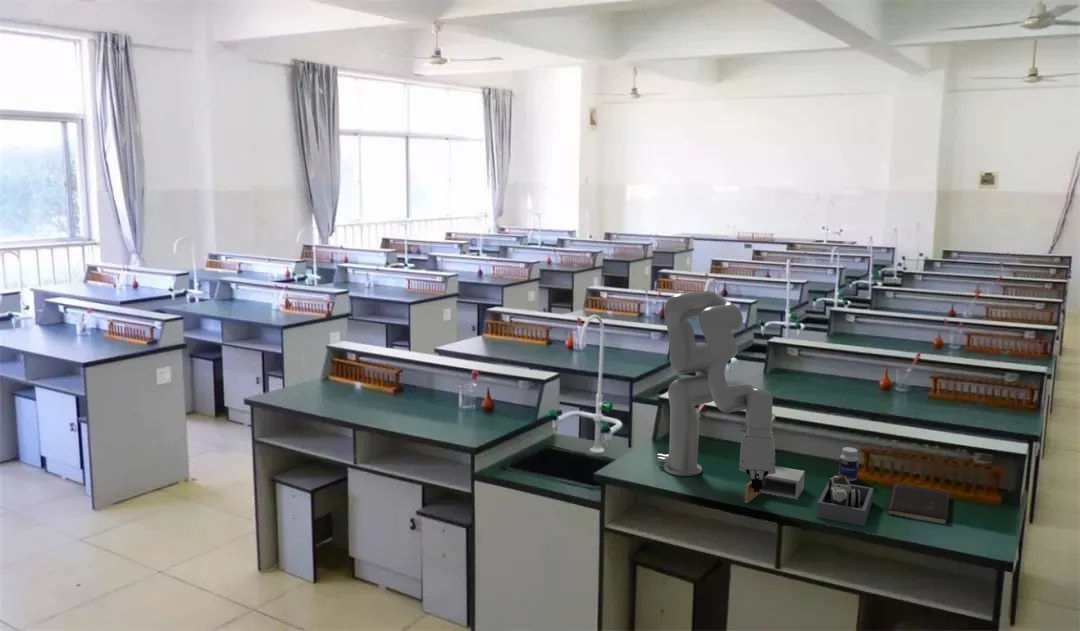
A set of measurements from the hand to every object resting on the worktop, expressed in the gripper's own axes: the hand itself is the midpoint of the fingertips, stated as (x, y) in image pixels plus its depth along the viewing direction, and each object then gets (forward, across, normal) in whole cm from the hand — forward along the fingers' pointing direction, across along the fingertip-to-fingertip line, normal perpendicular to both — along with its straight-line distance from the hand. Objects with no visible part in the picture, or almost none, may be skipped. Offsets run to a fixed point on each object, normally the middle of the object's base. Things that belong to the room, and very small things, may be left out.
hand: (756, 490), depth 254 cm
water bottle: (+4, -1, +31) cm, 31 cm away
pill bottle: (+4, +26, +33) cm, 42 cm away
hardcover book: (+6, +46, +16) cm, 49 cm away
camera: (+5, +25, +4) cm, 25 cm away
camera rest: (+5, +25, +4) cm, 26 cm away
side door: (+4, -1, +4) cm, 6 cm away
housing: (+4, +6, +13) cm, 15 cm away
